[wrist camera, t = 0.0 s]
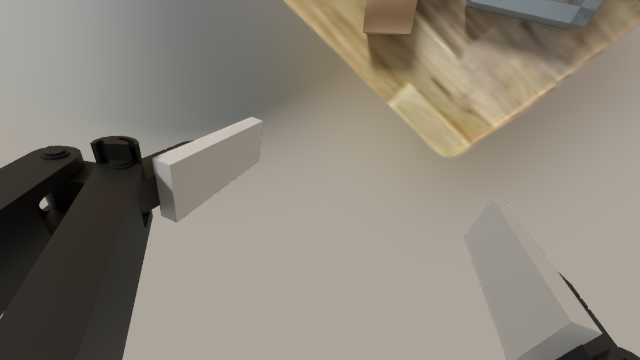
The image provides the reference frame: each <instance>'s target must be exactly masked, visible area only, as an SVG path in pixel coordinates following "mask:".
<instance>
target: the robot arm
mask: <svg viewBox="0 0 640 360" xmlns="http://www.w3.org/2000/svg"><path fill="white" fill-rule="evenodd" d="M262 124H263V121H262V120H259V119H256V118H253V117H250V118H248V119H245V120H243V121H241V122H238V123H236V124H233V125H231V126H228V127H226V128H224V129H221V130H219V131H216V132H214V133H211V134H209V135H207V136H204V137H202V138H199V139H197V140H192V141H186V142H182V143H180V144H177V145H175V146H174V147H170V148H167V150H162V151H160V152H157V153H155V154H152V155H150V156H147V157H145V158H141V152H140V147H139V142H138V141H137V140H136V139H134V138H130V137H125V136H109V137H103V138H99V139H96V140H94V141H93V142H91V143H90V144H91V147H92V150H93V154H94V157H95V160H96V163H95V162H88V161H84V160H83V158H82V155H81V152H80V150H78V149H77V148H73V147H69V146H48V147H46V148H42V149H38V150H35V151H33V152H31V153H29V154H27V155H25V156H23V157H21V158H19V159H17V160H15V161H14V162H12V163H10V164H8V165H6V166H4V167H2V168H0V316H1V315H2V314H3V313H4V314H3V316H2V317H1V319H0V360H122V358H123V353H124V349H125V343H126V339H127V334H128V330H129V325H130V321H131V316H132V311H133V306H134V302H135V297H136V292H137V288H138V283H139V278H140V274H141V269H142V264H143V260H144V255H145V250H146V246H147V241H148V236H149V231H150V227H151V222H152V217H153V215H152V209H153V208H155V207H157V206H159V205H160V210H161V216H163V217H165V218H168V219H170V220H172V221H175V222H178V221H180V220H181V219H182V218H184V217H185V216H186V215H188V214H189V213H190V212H192V211H193V210H194V209H195V208H197V207H198V206H200V205H201V204H202V203H204V202H205V201H206V200H208V199H209V198H210V197H212V196H213V195H214V194H216V193H217V192H218V191H220V190H221V189H222V188H224V187H225V186H226V185H228V184H229V183H230V182H232V181H233V180H235V179H236V178H237V177H239V176H240V175H241V174H243V173H244V172H245V171H247V170H248V169H249V168H250V167H252V166H253V165H255V164H256V163H257V162H259V154H260V144H261V134H262ZM44 197H45V198H46V200H47V202H48V204H49V205H48V206H46V207H45V208H44V209H41V208H40V207H39V204H40V201H41V200H42V199H43V198H44ZM464 238H465V241H466V244H467V247H468V250H469V253H470V255H471V259H472V262H473V264H474V267H475V270H476V273H477V276H478V279H479V282H480V285H481V287H482V290H483V293H484V296H485V299H486V302H487V305H488V308H489V311H490V313H491V316H492V319H493V322H494V325H495V328H496V331H497V333H498V336H499V339H500V342H501V345H502V348H503V351H504V354H505V357H506V360H640V358H639V357H638V356H636V355H635V354H633V353H632V352H630V351H627V350H625V349H623V348H620V347H617V345H616V344H615V343H614V341H613V340H612V339H611V337H610V336H609V335H608V333H607V332H606V331H605V329H604V328H603V326H602V325H601V324H600V322H599V321H598V320H597V318H596V317H595V316H594V314H593V313H592V312H591V310H589V309H588V306H587V305H586V304H585V302H584V301H583V300H582V299H581V298H580V296H579V294H578V293H577V291H576V290H575V289H574V288H573V286H572V285H571V284H570V283H569V282H568V281H567V280H566V279H565V278H564V277H563V276H562V275H561V274H560V273H559V272H558V271H557V270H556V269H555V267H554V266H553V265H552V263H551V262H550V260H549V259H548V258H547V256H546V255H545V254H544V253H543V251H542V249H541V248H540V247H539V245H538V244H537V243H536V241H535V240H534V238H533V237H532V236H531V235H530V233H529V232H528V230H527V229H526V227H525V226H524V225H523V223H522V222H521V220H520V219H519V218H518V216H517V215H516V214H515V212H514V211H513V209H512V208H511V207H510V205H509V204H508V203H506V202H503V201H500V200H497V199H494V198H492V199H491V200H490V202H489V203H488V204H487V206H486V207H485V208H484V210H483V211H482V212H481V213H480V215H479V216H478V217H477V219H476V220H475V221H474V223H473V224H472V225H471V227H470V228H469V229H468V231H467V232H466V233H465V235H464Z"/></svg>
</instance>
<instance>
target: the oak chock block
mask: <svg viewBox="0 0 640 360" xmlns="http://www.w3.org/2000/svg"><path fill="white" fill-rule="evenodd" d="M417 1H418V0H367V2H366V10H365V18H364V27H363V32H364V33H365V34H374V35H397V36H410V35H411V30H412V25H413V21H414V16H415V11H416V6H417Z"/></svg>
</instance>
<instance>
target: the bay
mask: <svg viewBox="0 0 640 360" xmlns="http://www.w3.org/2000/svg"><path fill="white" fill-rule="evenodd" d="M602 1H603V0H571V1H570V3H569V4H566V3H561V2H556V1H552V0H468V1H467V3H466V5H465V6H467V7H472V8H476V9H481V10H485V11H490V12H494V13H498V14H503V15H507V16H512V17H516V18H520V19H525V20H529V21H534V22H538V23H542V24H547V25H551V26H556V27H560V28H565V29H574V28H580V27H585V26H586V25H587V23H588V22H589V20H590V19H591V17H592V16H593V14H594V13H595V11H596V10H597V9H598V7H599V6H600V4H601V3H602Z"/></svg>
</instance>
